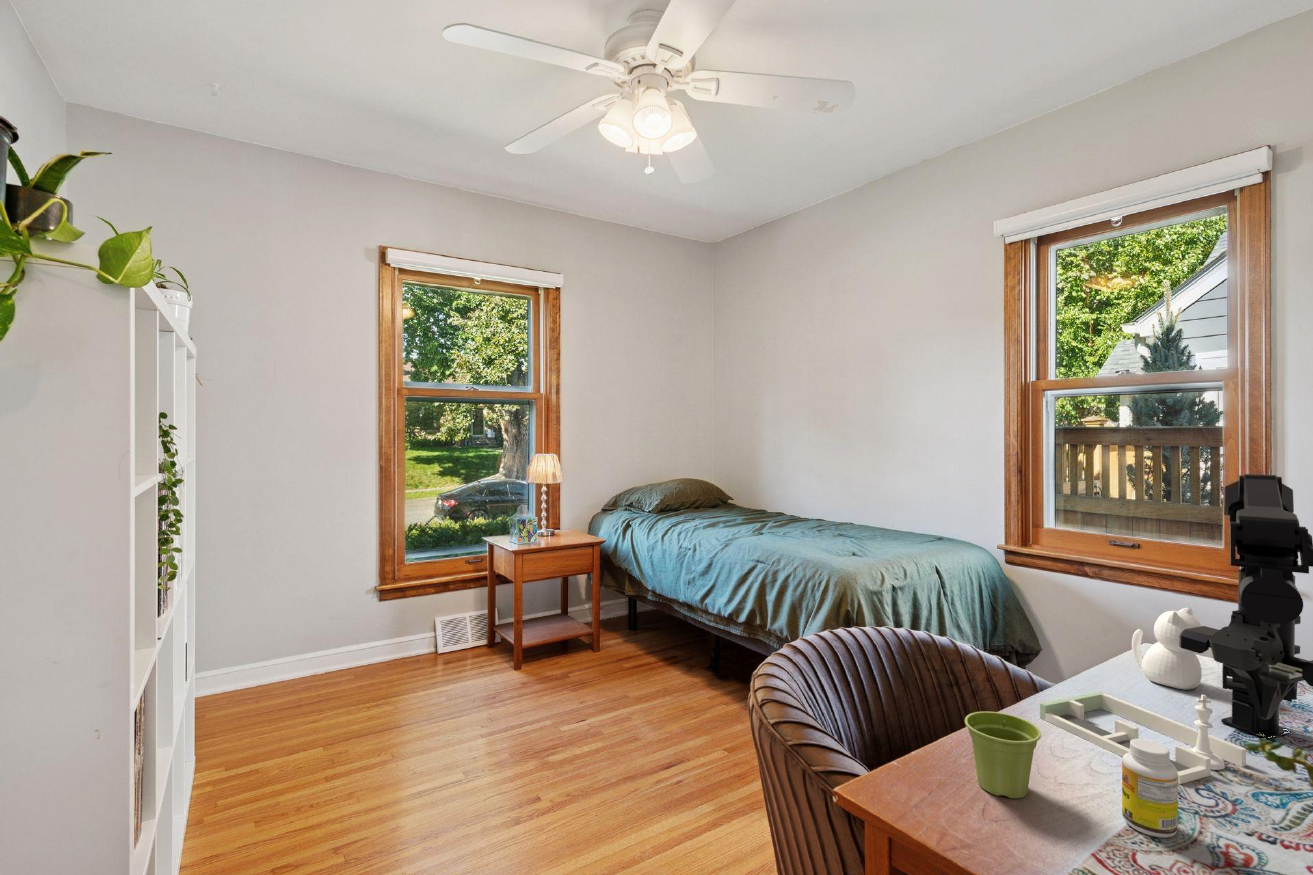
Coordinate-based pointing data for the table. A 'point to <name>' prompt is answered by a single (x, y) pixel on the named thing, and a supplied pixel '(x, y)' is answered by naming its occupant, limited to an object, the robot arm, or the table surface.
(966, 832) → the table surface
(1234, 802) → the table surface
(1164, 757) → the supplement bottle
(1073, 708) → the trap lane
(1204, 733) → the chess piece
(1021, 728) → the plant pot
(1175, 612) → the cat figurine
